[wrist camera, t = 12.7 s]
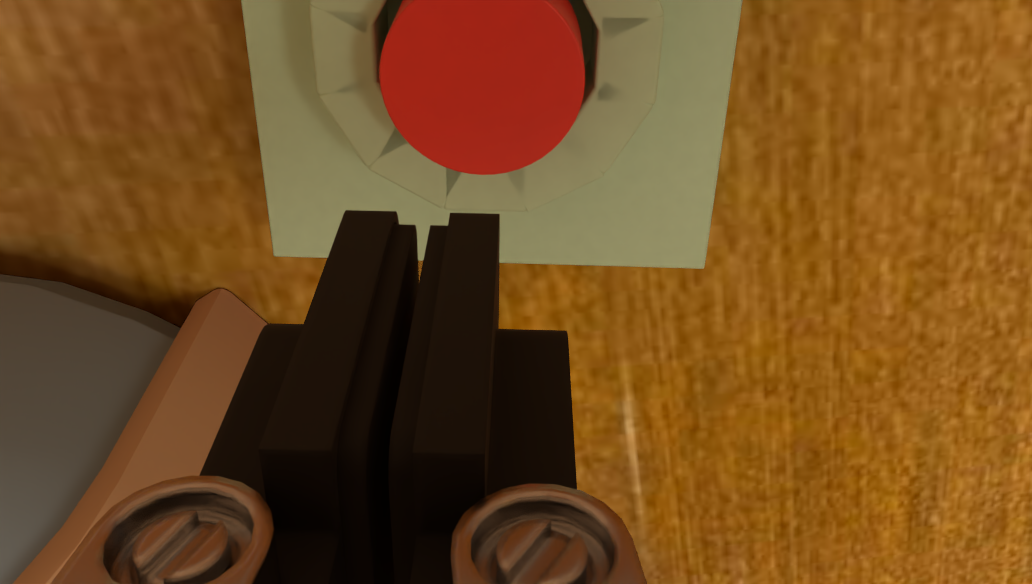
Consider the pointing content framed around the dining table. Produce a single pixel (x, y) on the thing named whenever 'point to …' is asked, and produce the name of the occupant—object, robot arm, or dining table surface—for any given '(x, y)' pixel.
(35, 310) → the alarm clock
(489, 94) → the red button
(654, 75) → the button block
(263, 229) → the dining table surface
